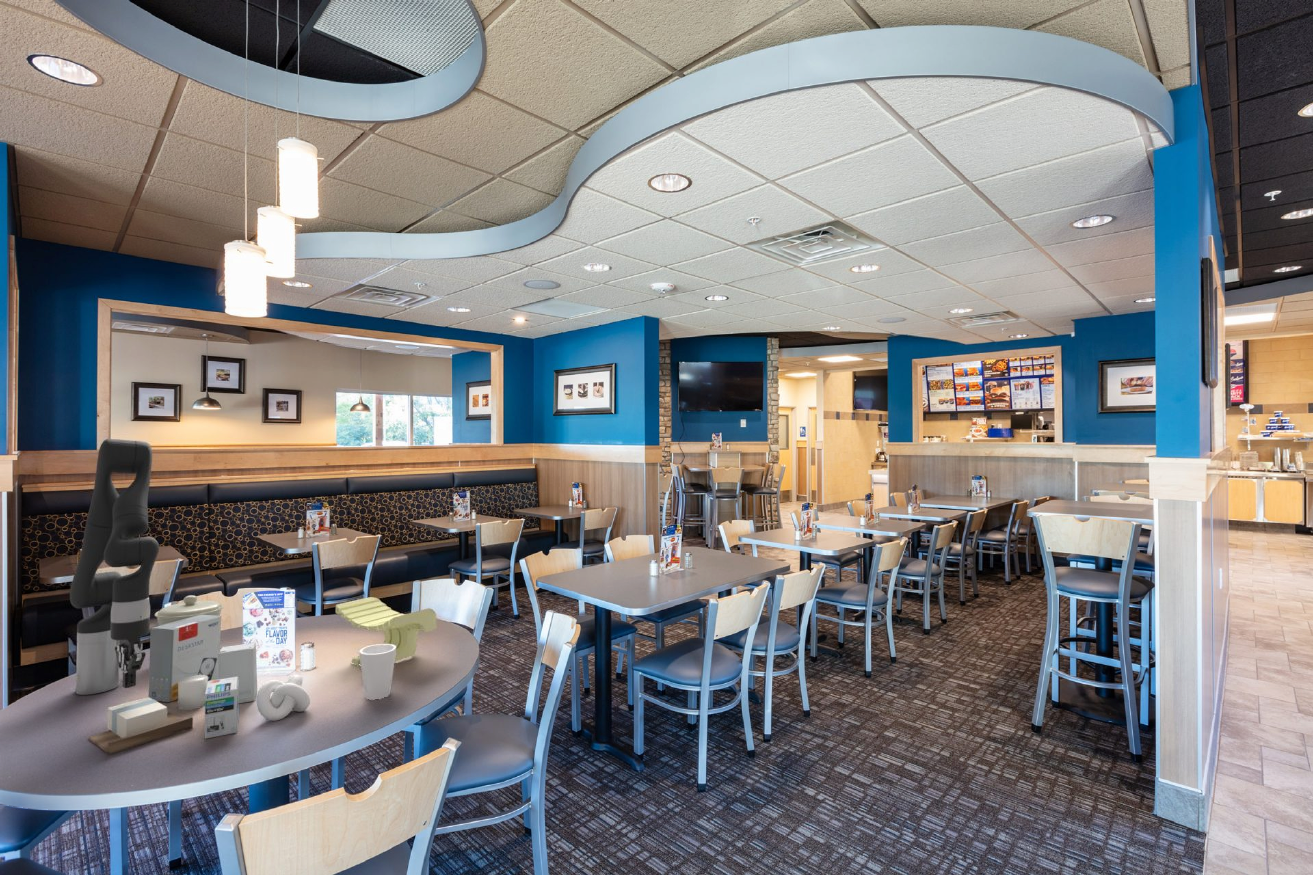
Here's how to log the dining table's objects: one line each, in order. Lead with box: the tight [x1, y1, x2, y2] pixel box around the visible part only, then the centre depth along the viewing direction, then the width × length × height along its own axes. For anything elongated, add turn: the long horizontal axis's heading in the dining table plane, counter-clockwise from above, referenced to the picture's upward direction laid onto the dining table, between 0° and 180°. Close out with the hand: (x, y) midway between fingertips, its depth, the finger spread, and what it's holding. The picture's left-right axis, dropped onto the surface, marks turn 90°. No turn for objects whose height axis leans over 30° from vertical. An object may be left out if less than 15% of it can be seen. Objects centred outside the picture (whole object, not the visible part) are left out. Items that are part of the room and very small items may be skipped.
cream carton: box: [107, 696, 168, 738], centre depth 152 cm, size 5×8×12 cm
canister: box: [154, 595, 224, 626], centre depth 203 cm, size 18×18×21 cm
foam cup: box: [358, 643, 396, 701], centre depth 174 cm, size 10×9×13 cm
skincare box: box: [218, 641, 258, 704], centre depth 170 cm, size 8×6×15 cm
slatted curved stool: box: [335, 596, 437, 666], centre depth 203 cm, size 30×16×18 cm, turn 59°
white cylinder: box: [177, 675, 208, 711], centre depth 167 cm, size 6×6×7 cm
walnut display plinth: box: [88, 712, 194, 755], centre depth 150 cm, size 14×16×3 cm
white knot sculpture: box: [256, 674, 311, 722], centre depth 162 cm, size 11×12×9 cm
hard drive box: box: [147, 615, 222, 703], centre depth 177 cm, size 16×8×20 cm, turn 168°
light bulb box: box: [204, 677, 240, 740], centre depth 153 cm, size 11×7×11 cm, turn 33°
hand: (129, 686), depth 155 cm, fingers closed
